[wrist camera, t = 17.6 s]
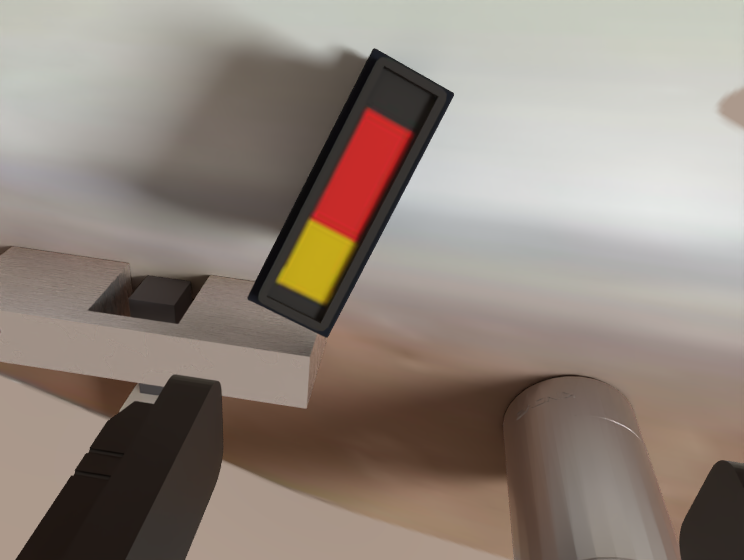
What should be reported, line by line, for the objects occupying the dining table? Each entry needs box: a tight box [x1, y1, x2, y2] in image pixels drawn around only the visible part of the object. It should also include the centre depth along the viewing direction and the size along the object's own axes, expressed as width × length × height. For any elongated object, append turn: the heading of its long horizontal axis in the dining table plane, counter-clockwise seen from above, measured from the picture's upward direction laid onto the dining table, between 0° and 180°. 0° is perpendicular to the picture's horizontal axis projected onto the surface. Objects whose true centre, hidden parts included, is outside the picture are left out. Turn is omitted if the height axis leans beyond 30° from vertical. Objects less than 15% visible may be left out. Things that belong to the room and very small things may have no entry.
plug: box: [119, 275, 192, 412], centre depth 45 cm, size 13×4×5 cm, turn 174°
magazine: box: [247, 49, 454, 338], centre depth 33 cm, size 4×13×15 cm, turn 153°
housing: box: [0, 246, 327, 409], centre depth 41 cm, size 4×22×7 cm, turn 84°
